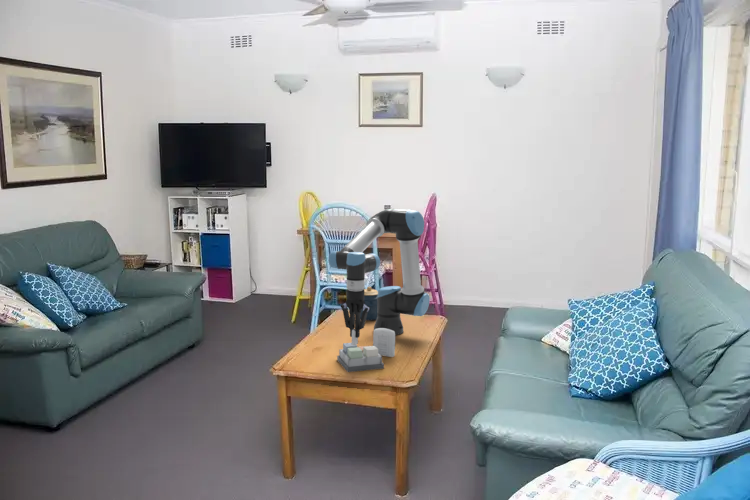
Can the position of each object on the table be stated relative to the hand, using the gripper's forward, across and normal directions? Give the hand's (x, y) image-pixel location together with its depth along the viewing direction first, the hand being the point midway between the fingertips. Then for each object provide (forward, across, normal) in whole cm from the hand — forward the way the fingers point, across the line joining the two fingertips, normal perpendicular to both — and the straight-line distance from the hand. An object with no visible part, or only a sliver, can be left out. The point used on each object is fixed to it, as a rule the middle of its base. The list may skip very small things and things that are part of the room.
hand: (354, 344), depth 261 cm
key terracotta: (+8, 0, +10) cm, 13 cm away
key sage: (+6, 0, 0) cm, 6 cm away
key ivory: (+6, +5, +5) cm, 9 cm away
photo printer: (+10, +4, +22) cm, 24 cm away
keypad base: (+10, 0, +5) cm, 11 cm away
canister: (+10, -32, +77) cm, 84 cm away
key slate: (+6, -5, +5) cm, 9 cm away
